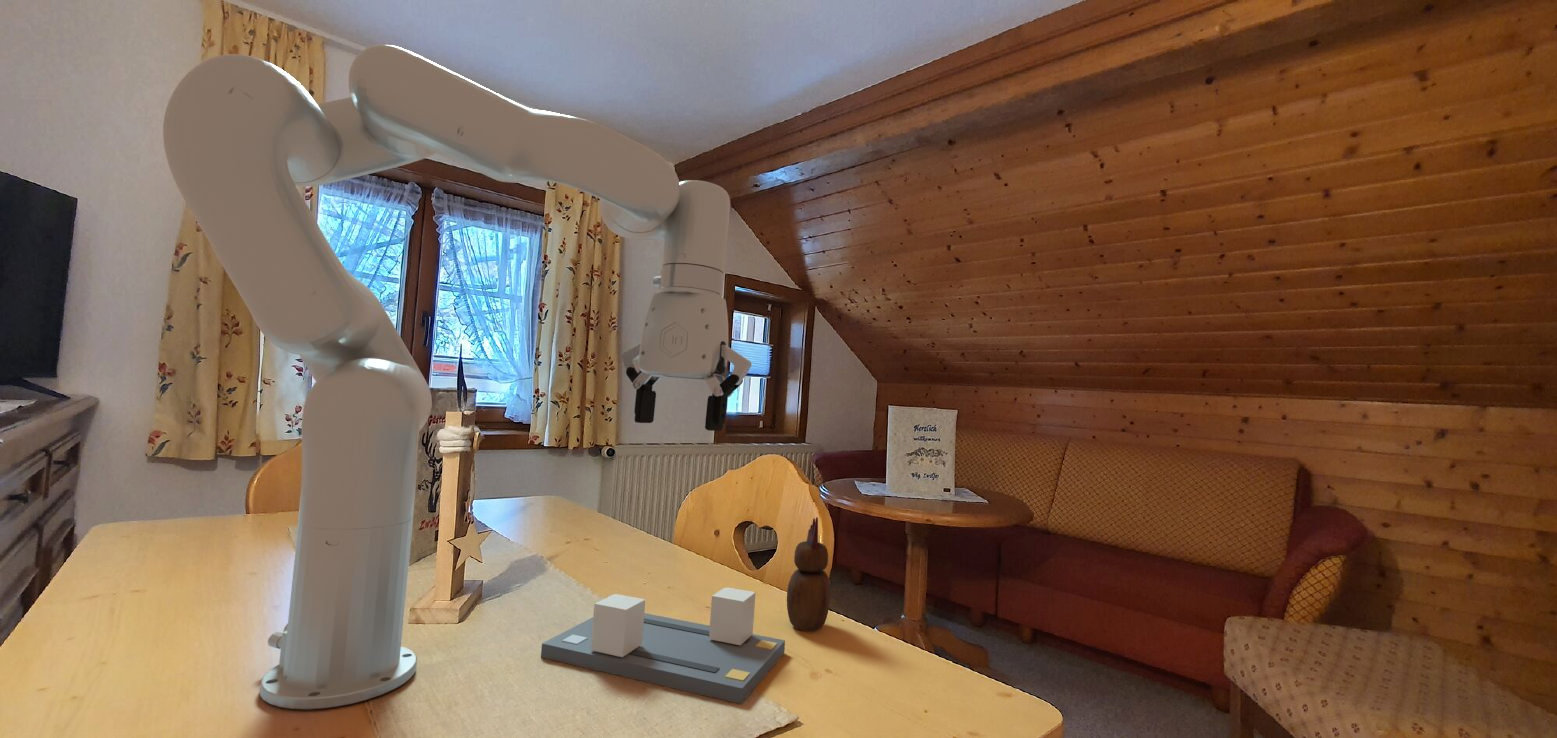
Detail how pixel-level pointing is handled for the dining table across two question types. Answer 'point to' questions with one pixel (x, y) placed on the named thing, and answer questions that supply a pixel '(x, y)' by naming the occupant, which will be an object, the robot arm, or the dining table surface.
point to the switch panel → (676, 657)
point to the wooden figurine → (809, 584)
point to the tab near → (618, 625)
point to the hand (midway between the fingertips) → (677, 426)
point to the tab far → (732, 615)
